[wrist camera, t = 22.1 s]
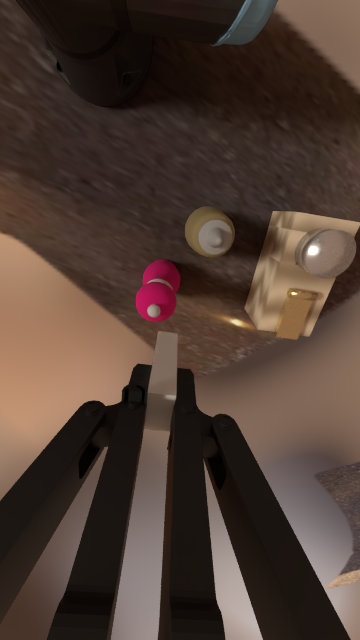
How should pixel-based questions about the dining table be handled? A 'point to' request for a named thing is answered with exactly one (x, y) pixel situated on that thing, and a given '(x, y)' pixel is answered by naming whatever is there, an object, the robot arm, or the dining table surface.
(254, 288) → the maple block
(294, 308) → the brass latch
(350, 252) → the silver capsule
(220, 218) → the squeeze bottle
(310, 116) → the dining table surface
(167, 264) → the pepper mill
